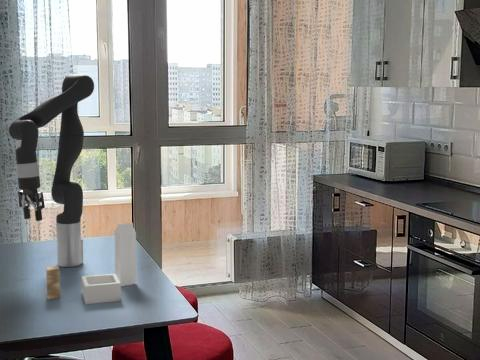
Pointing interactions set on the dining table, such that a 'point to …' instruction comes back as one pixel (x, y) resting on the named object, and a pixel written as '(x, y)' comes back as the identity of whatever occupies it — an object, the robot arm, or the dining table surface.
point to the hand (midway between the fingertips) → (33, 219)
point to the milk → (125, 254)
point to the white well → (101, 288)
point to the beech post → (53, 282)
